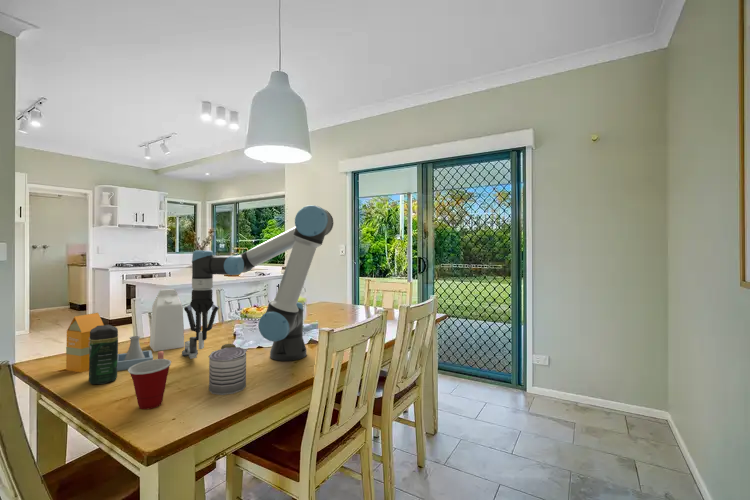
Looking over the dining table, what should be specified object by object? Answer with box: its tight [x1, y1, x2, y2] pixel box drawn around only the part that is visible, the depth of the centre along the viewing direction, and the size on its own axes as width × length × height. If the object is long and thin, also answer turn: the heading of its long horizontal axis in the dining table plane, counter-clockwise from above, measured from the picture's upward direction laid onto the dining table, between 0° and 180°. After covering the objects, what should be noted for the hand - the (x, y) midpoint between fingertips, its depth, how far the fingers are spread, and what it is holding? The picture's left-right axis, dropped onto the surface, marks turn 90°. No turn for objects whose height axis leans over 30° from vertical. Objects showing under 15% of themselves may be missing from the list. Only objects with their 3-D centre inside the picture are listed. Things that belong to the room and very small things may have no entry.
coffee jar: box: [88, 324, 119, 385], centre depth 126 cm, size 10×8×19 cm
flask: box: [124, 335, 145, 361], centre depth 144 cm, size 7×7×10 cm
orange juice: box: [65, 312, 105, 373], centre depth 138 cm, size 8×9×20 cm
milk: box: [149, 288, 185, 352], centre depth 169 cm, size 12×12×26 cm
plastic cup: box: [127, 358, 172, 410], centre depth 107 cm, size 11×11×12 cm
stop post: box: [157, 350, 165, 359], centre depth 147 cm, size 2×2×4 cm
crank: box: [184, 336, 198, 360], centre depth 153 cm, size 15×4×8 cm, turn 32°
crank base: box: [181, 349, 199, 357], centre depth 157 cm, size 6×6×2 cm
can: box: [208, 346, 248, 396], centre depth 121 cm, size 11×11×12 cm
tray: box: [117, 349, 154, 372], centre depth 144 cm, size 12×12×3 cm
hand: (201, 348), depth 147 cm, fingers closed
